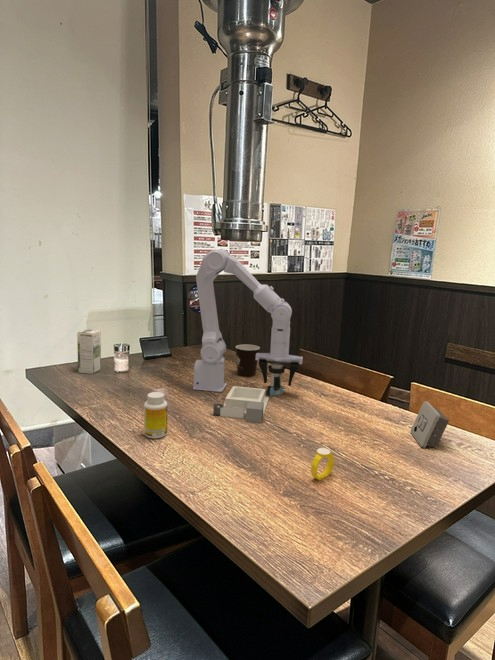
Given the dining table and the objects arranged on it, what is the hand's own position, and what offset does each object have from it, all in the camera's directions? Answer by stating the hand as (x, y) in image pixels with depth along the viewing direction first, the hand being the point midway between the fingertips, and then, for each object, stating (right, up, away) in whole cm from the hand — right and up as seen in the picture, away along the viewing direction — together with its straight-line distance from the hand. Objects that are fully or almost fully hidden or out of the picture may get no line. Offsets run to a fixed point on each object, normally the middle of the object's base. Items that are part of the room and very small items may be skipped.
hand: (277, 383), depth 137 cm
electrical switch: (+35, -11, -28) cm, 46 cm away
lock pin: (-14, -7, -18) cm, 24 cm away
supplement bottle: (-32, -9, -31) cm, 45 cm away
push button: (0, -4, +1) cm, 4 cm away
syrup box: (-65, +2, +15) cm, 66 cm away
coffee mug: (-10, +1, +21) cm, 23 cm away
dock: (-10, -5, -12) cm, 17 cm away
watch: (+6, -14, -47) cm, 49 cm away
